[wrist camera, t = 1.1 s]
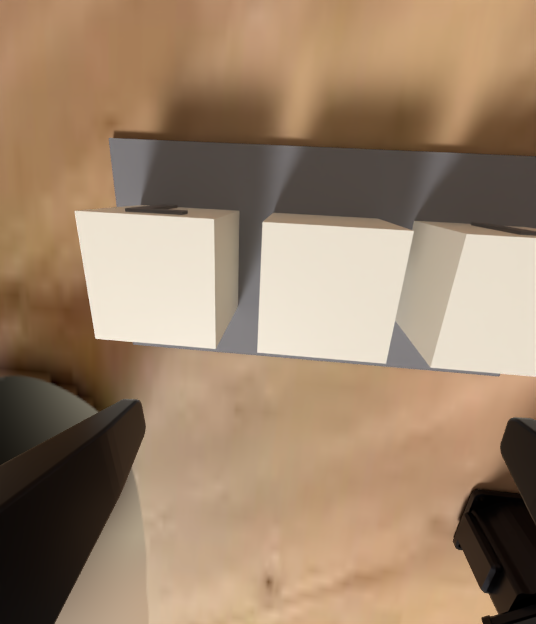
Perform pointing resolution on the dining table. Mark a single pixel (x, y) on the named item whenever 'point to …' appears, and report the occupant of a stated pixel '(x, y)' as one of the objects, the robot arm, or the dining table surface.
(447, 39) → the dining table surface
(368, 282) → the blank block
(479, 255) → the digit block 1
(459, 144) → the dining table surface
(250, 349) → the tap mat
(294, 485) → the dining table surface
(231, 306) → the digit block 7
